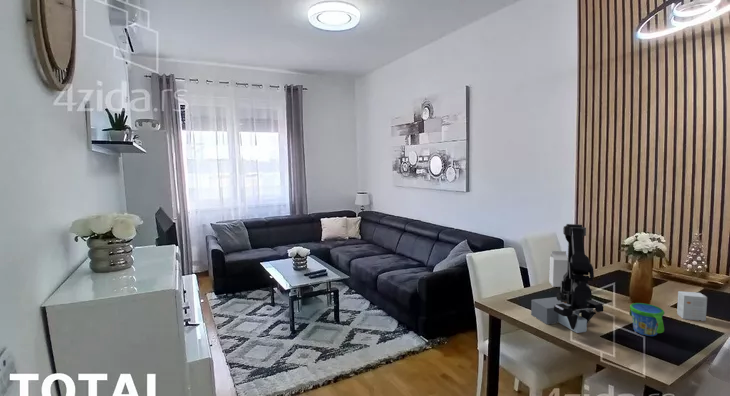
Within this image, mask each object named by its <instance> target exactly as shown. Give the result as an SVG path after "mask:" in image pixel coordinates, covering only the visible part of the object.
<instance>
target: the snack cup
mask: <svg viewBox="0 0 730 396" xmlns="http://www.w3.org/2000/svg"><path fill="white" fill-rule="evenodd" d="M629 316H630V317H631V318H632V319H631V321H632V328H633V330H634V331H635V332H636V333H638V334H640V335H643V336H646V337H655V336H658V334H662V333H664V332H665V326H664V320H663V317H664V316H665V311H664V309H662V308H661V307H659V306H657V305H653V304H651V303H650V304H649V303H643V302H635V303H634V302H633V303H631V304H630V305H629Z"/></svg>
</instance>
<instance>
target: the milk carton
mask: <svg viewBox="0 0 730 396" xmlns="http://www.w3.org/2000/svg"><path fill="white" fill-rule="evenodd" d="M567 263H568V254H567V251H566V250H565V251H564V250H563V251H562V250H561V251H560V250H552V251H551V254H550V256H549V273H548V274H549V276H548V277H549V281H548V282H549V284H550V285H551V286H552V287H553V288H556V287H557V288H561V281H563V276H564V275H565V274H566V272H567Z"/></svg>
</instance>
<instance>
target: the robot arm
mask: <svg viewBox="0 0 730 396" xmlns="http://www.w3.org/2000/svg"><path fill="white" fill-rule="evenodd" d="M562 231H563V235H564V237H565V238H564V239H565V240H566V241H567V243H568V245H567V258H568V263H567V272H566V274H565V275H564V276H563V281H561V287H560V292H556V296H555V297H557V300H558V301H561V302H567V304H570V305H571V306H567V305H565V304H556V305H555V306H554V311H555V312H557V313H559V314H560V315H562V316H567V318H568V321H569V323H570V326H571V329H573V330H574V328H575V325H576V321H577V317H578V315H576V314H575V311H577V310H580V312H579V313H580V316H581V317H583V318H585V319H587V324H588V323H590V320H591V319H593V317H594V316H595V315H597V313H601V312H604V305H603V304H602V303H600V302H598V301H596V300H594V299H591V300H589V299H590V298H591V297H592V295H593V293H592V292H593V291H592V289H591V287H590V285H589V281H591V282H593V279H594V277H595V273H594V272H595V271H594V266H593V264H592V263H591V262H590V257H588V256H587V254H586V253H585V251H586V250H585V242H584V237H585V236H587V227H585V226H583V225H582V224H575V223H566V225H565V226H564V225H563V229H562ZM571 329H570V330H571ZM573 330H572V331H573Z"/></svg>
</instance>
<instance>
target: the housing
mask: <svg viewBox="0 0 730 396" xmlns="http://www.w3.org/2000/svg"><path fill="white" fill-rule="evenodd" d="M530 304H531V305H530V306H531V309H530V310H531V311H530V315H531V316H532V317H534V318H535V317H536V318H535V319H537V320H539V321H540V322H542V323H543V324H544V325H554V323H555V324H558V323H559V322H558V313H557V312H555V311H554V306H555V305H556V304H565V305H567V306H571V305H570V304H567V303H564V302H561V301H558V300H557V297H556V296H553V297H545V298H535V299H531V303H530ZM580 313H581V312H580V310H577V311H575V314H577V315H579V316H580Z"/></svg>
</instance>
